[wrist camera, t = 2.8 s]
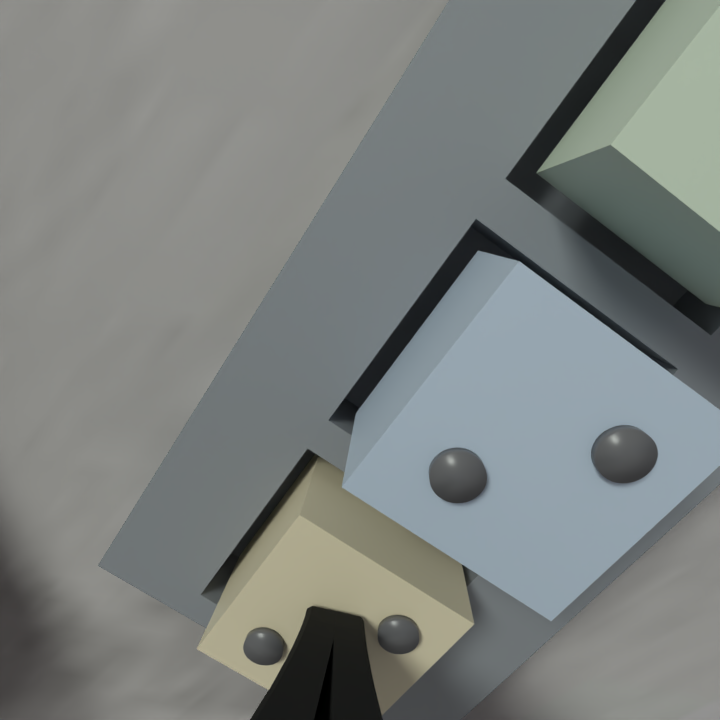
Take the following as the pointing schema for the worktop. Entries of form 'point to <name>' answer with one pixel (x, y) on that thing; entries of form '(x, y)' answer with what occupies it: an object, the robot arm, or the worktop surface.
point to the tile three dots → (339, 587)
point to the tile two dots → (528, 437)
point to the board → (419, 311)
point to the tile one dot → (656, 147)
